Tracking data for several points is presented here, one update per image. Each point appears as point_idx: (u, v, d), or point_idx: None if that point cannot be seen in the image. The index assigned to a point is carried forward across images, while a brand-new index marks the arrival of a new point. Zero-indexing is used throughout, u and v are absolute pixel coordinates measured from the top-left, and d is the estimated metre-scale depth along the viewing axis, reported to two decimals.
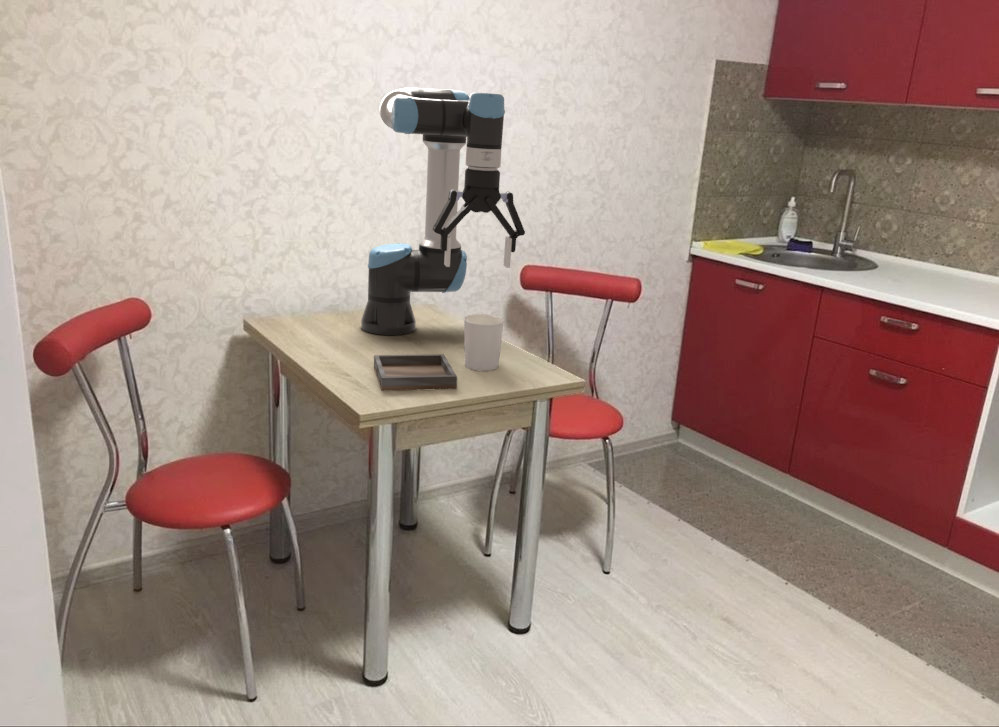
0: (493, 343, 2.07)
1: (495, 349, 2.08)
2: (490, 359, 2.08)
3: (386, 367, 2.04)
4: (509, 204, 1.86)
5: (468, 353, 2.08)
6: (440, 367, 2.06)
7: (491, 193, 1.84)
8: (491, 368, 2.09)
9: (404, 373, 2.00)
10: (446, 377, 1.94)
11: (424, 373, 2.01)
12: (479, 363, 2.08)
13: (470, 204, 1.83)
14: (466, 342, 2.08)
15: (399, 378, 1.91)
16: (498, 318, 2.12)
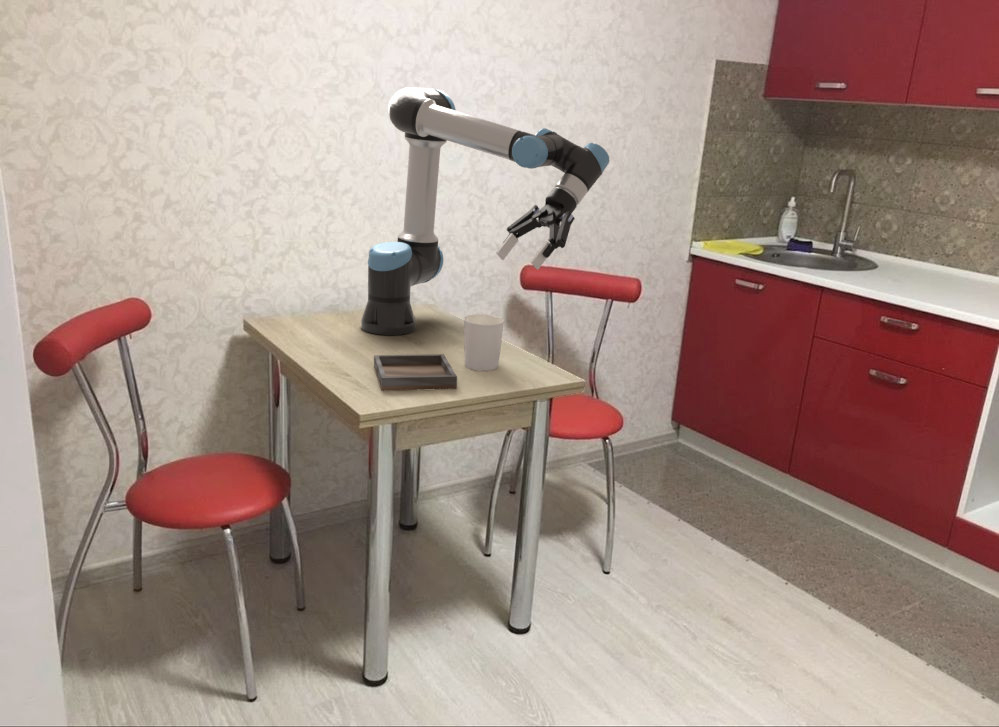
0: (493, 343, 2.07)
1: (495, 349, 2.08)
2: (490, 359, 2.08)
3: (386, 367, 2.04)
4: None
5: (468, 353, 2.08)
6: (440, 367, 2.06)
7: None
8: (491, 368, 2.09)
9: (404, 373, 2.00)
10: (446, 377, 1.94)
11: (424, 373, 2.01)
12: (479, 363, 2.08)
13: None
14: (466, 342, 2.08)
15: (399, 378, 1.91)
16: (498, 318, 2.12)
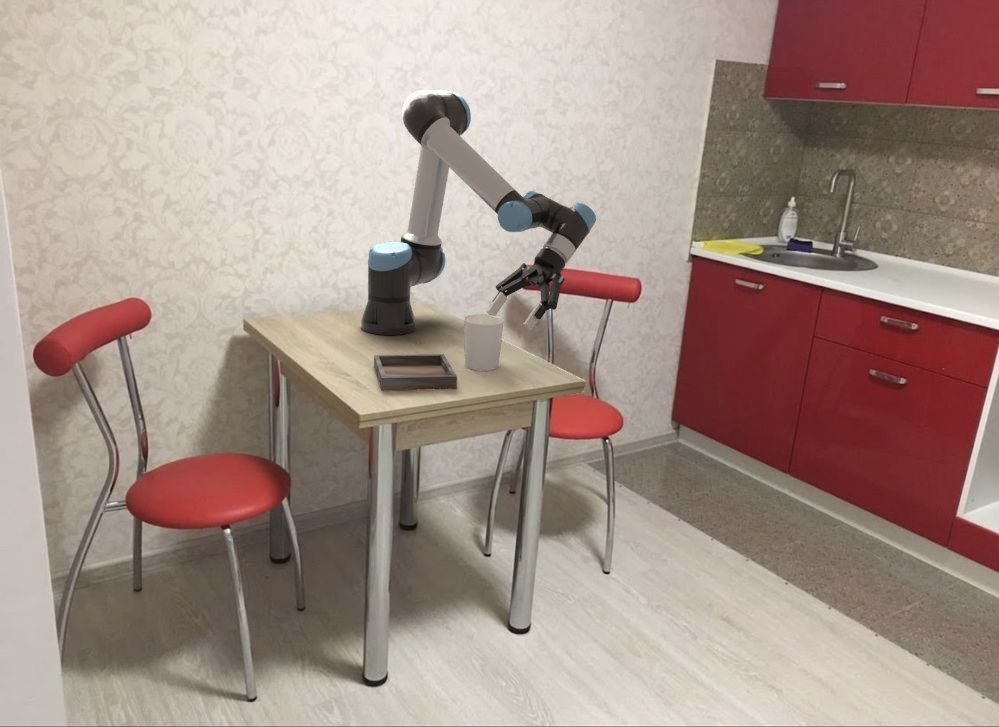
0: (493, 343, 2.07)
1: (495, 349, 2.08)
2: (490, 359, 2.08)
3: (386, 367, 2.04)
4: None
5: (468, 353, 2.08)
6: (440, 367, 2.06)
7: None
8: (491, 368, 2.09)
9: (404, 373, 2.00)
10: (446, 377, 1.94)
11: (424, 373, 2.01)
12: (479, 363, 2.08)
13: None
14: (466, 342, 2.08)
15: (399, 378, 1.91)
16: (498, 318, 2.12)
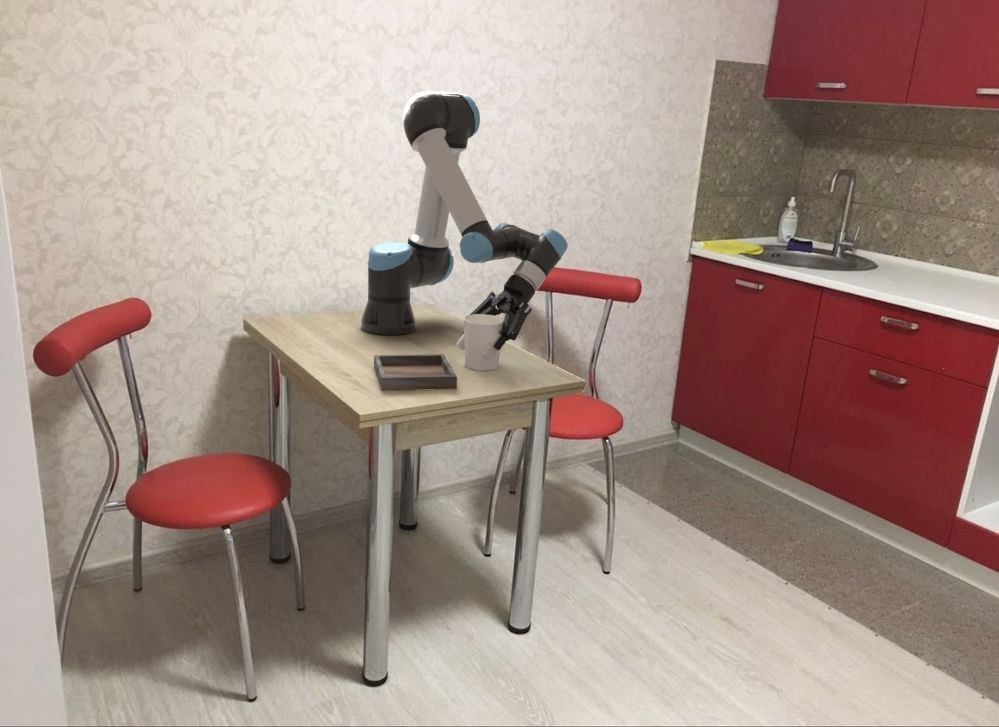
0: None
1: None
2: None
3: (386, 367, 2.04)
4: None
5: (468, 353, 2.08)
6: (440, 367, 2.06)
7: None
8: (491, 368, 2.09)
9: (404, 373, 2.00)
10: (446, 377, 1.94)
11: (424, 373, 2.01)
12: (479, 363, 2.08)
13: None
14: (466, 342, 2.08)
15: (399, 378, 1.91)
16: (498, 318, 2.12)
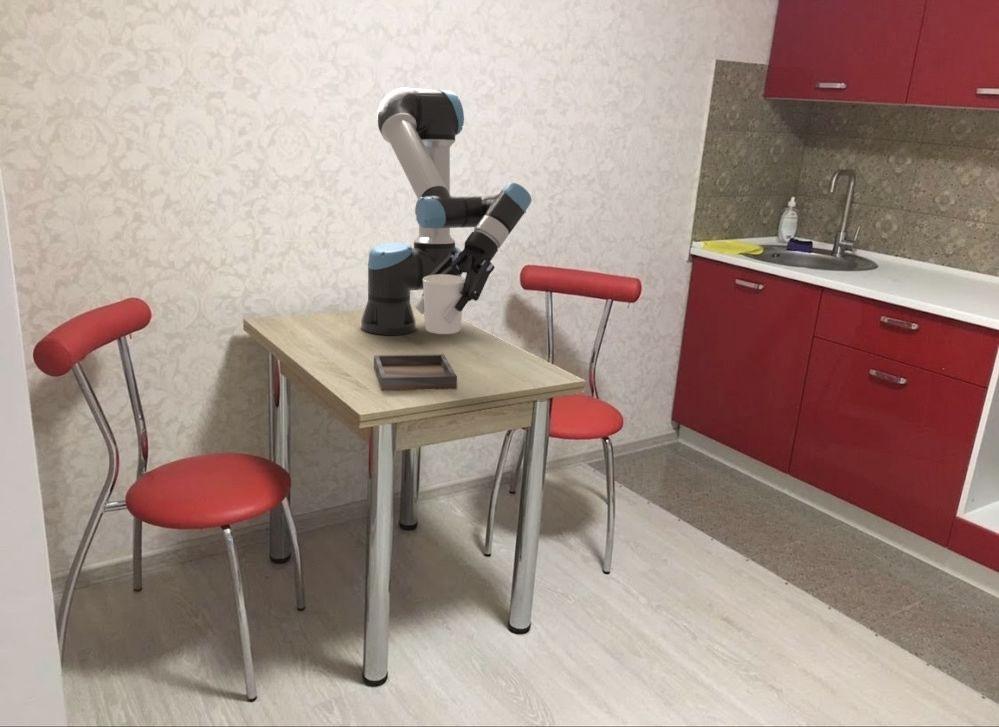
0: None
1: None
2: None
3: (386, 367, 2.04)
4: None
5: (428, 315, 1.96)
6: (440, 367, 2.06)
7: None
8: (453, 331, 1.97)
9: (404, 373, 2.00)
10: (446, 377, 1.94)
11: (424, 373, 2.01)
12: (440, 326, 1.95)
13: None
14: (425, 304, 1.96)
15: (399, 378, 1.91)
16: (459, 278, 1.99)
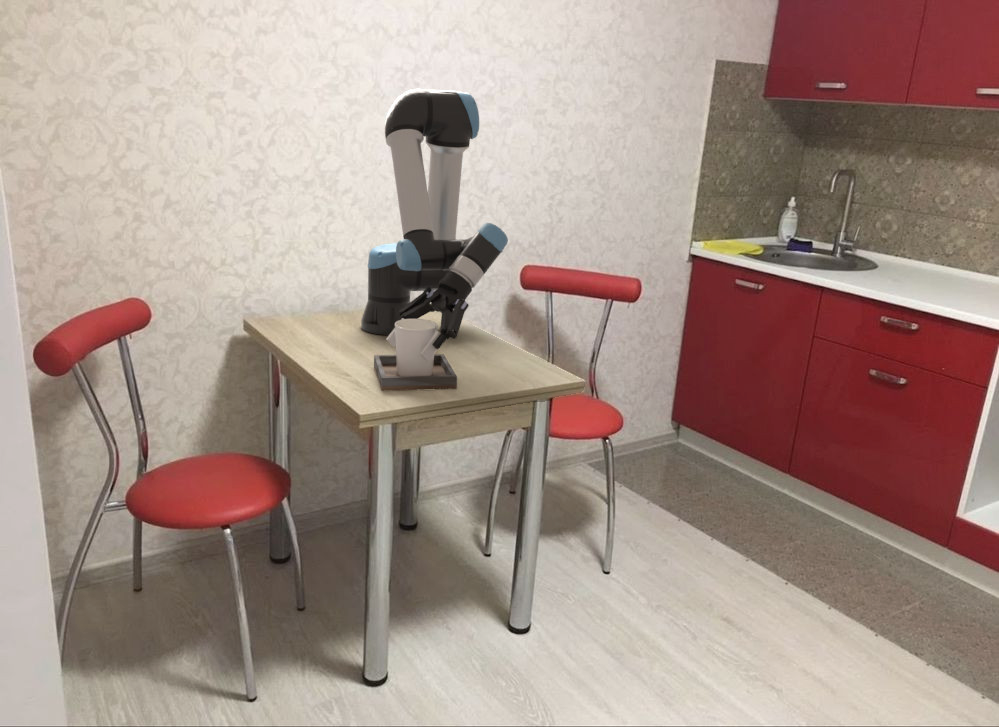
0: None
1: None
2: (422, 366, 1.96)
3: (386, 367, 2.04)
4: None
5: (399, 360, 1.97)
6: (440, 367, 2.06)
7: None
8: None
9: None
10: (446, 377, 1.94)
11: None
12: (411, 371, 1.96)
13: None
14: (397, 348, 1.96)
15: (399, 378, 1.91)
16: (432, 323, 2.00)
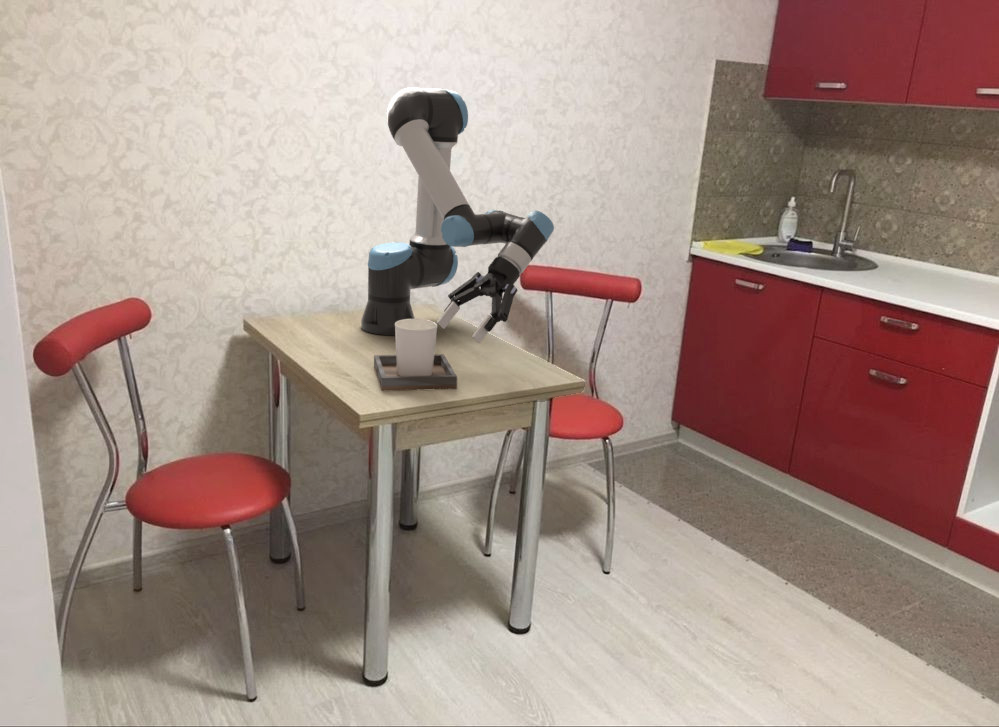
0: (425, 350, 1.95)
1: (428, 356, 1.96)
2: (422, 366, 1.96)
3: (386, 367, 2.04)
4: None
5: (399, 360, 1.97)
6: (440, 367, 2.06)
7: None
8: None
9: None
10: (446, 377, 1.94)
11: None
12: (411, 371, 1.96)
13: None
14: (397, 348, 1.96)
15: (399, 378, 1.91)
16: (432, 323, 2.00)
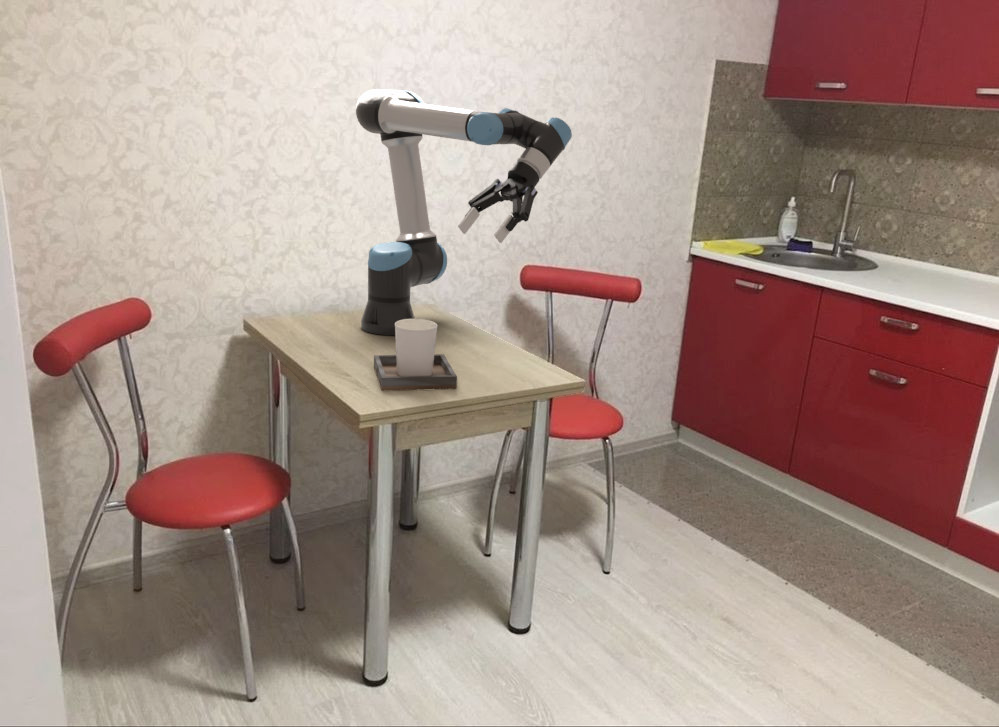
0: (425, 350, 1.95)
1: (428, 356, 1.96)
2: (422, 366, 1.96)
3: (386, 367, 2.04)
4: None
5: (399, 360, 1.97)
6: (440, 367, 2.06)
7: None
8: None
9: None
10: (446, 377, 1.94)
11: None
12: (411, 371, 1.96)
13: None
14: (397, 348, 1.96)
15: (399, 378, 1.91)
16: (432, 323, 2.00)
